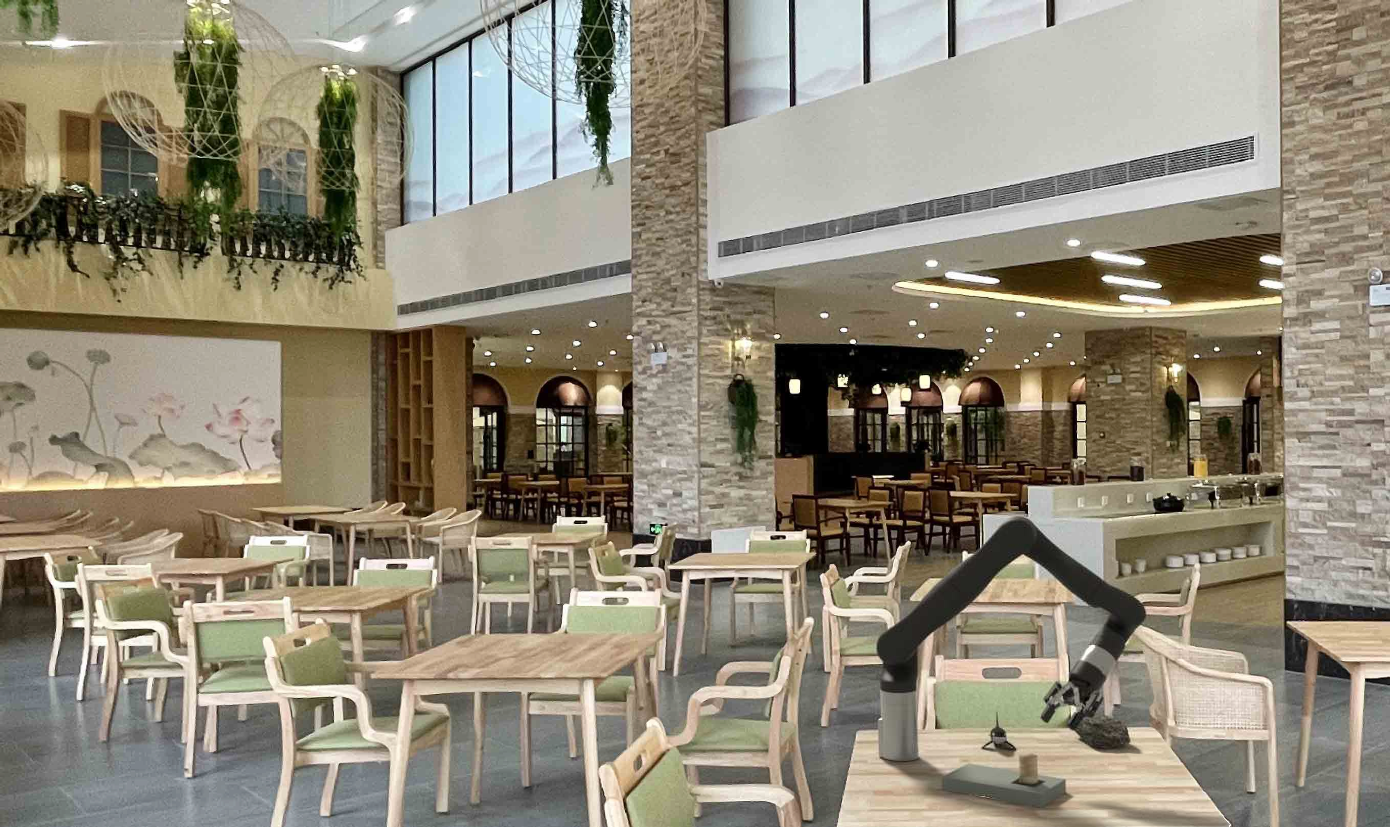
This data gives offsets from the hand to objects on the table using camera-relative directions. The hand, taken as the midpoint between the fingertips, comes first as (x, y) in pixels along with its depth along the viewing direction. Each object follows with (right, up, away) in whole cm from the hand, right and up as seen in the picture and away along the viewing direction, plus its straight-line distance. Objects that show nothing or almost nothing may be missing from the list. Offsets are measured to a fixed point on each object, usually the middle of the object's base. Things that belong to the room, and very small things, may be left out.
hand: (1056, 724), depth 274 cm
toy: (-3, -17, +42) cm, 46 cm away
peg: (-8, -15, -4) cm, 17 cm away
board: (-12, -15, 0) cm, 20 cm away
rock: (+25, -16, +41) cm, 51 cm away
